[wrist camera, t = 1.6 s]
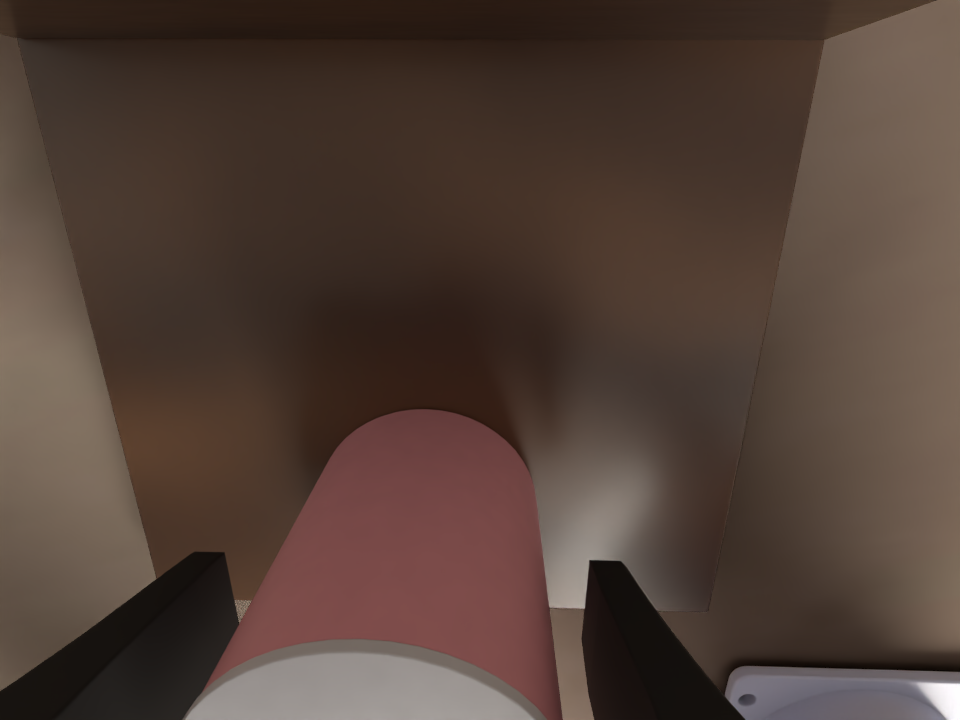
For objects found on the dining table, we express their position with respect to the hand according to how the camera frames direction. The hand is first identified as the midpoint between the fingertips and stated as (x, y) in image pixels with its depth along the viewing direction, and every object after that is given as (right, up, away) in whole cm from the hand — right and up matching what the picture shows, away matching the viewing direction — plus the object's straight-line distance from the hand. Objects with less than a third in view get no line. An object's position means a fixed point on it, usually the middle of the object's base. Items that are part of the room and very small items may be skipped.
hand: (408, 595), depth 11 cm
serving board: (0, +5, +3) cm, 6 cm away
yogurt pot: (0, +1, +3) cm, 3 cm away
